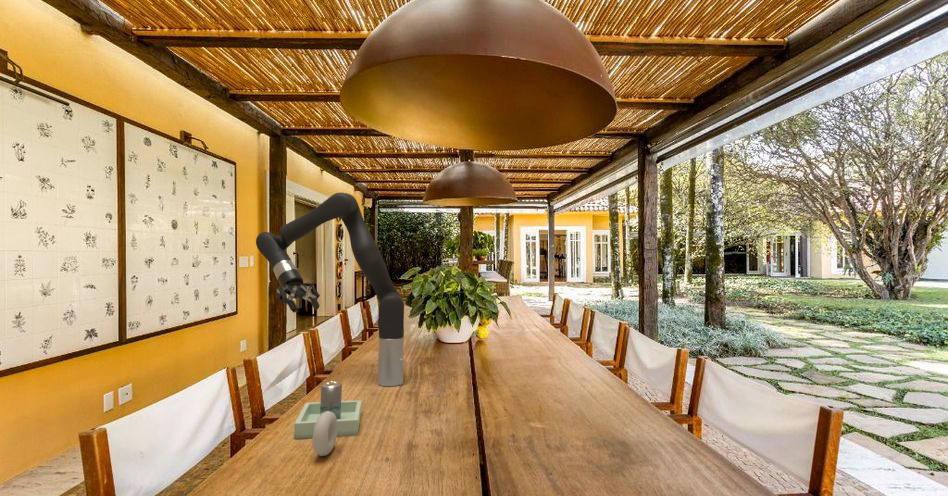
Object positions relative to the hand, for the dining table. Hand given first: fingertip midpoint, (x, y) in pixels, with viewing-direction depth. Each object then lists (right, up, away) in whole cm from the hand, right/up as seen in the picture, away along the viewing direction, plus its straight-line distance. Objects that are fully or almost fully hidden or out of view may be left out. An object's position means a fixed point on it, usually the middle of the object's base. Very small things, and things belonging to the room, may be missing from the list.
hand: (306, 309), depth 151 cm
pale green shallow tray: (+18, -28, -29) cm, 44 cm away
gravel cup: (+17, -27, -28) cm, 43 cm away
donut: (+22, -28, -46) cm, 58 cm away
